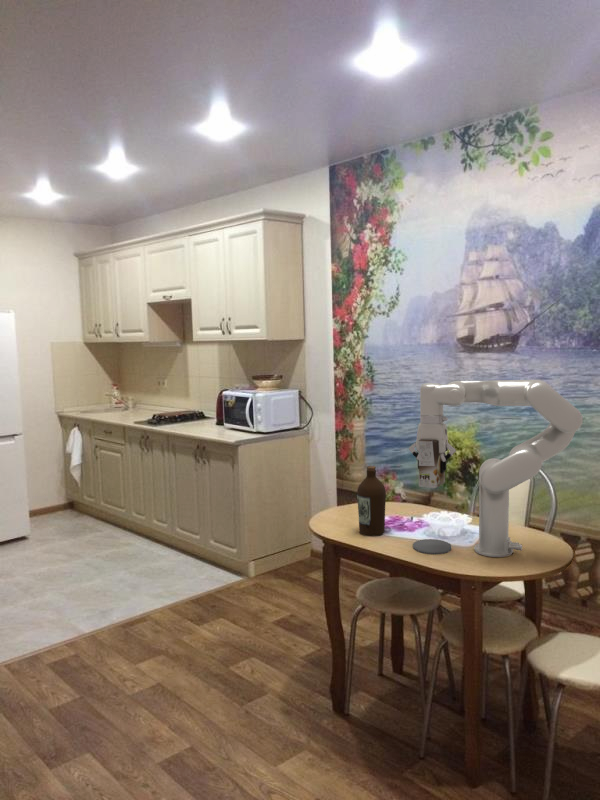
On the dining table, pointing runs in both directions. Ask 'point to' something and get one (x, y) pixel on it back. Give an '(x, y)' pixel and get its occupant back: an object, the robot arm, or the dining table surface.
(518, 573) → the dining table surface
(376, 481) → the olive oil
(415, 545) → the mat
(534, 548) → the dining table surface
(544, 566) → the dining table surface
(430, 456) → the coffee box
